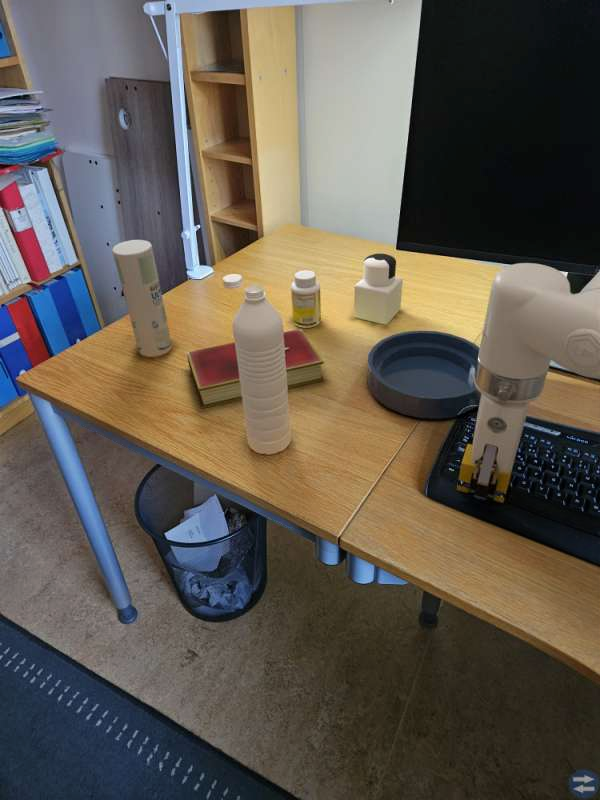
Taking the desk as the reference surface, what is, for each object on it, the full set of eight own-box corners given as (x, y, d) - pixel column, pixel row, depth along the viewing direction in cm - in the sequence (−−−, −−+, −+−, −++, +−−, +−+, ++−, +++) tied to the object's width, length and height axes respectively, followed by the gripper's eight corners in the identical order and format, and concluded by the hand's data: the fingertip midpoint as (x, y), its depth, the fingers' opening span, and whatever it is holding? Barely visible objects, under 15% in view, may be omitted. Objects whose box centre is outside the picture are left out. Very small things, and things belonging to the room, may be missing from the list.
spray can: (167, 357, 103) (145, 254, 91) (133, 357, 103) (106, 255, 91) (176, 339, 108) (156, 239, 96) (143, 339, 108) (119, 239, 96)
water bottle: (300, 440, 83) (291, 286, 68) (267, 462, 80) (250, 305, 64) (261, 414, 88) (245, 266, 73) (229, 434, 85) (205, 283, 70)
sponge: (507, 482, 75) (515, 455, 72) (503, 503, 72) (510, 475, 69) (462, 470, 77) (467, 443, 74) (456, 490, 74) (461, 463, 71)
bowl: (496, 364, 97) (500, 342, 94) (474, 434, 83) (479, 410, 80) (387, 343, 103) (388, 322, 101) (350, 404, 89) (350, 381, 87)
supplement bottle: (307, 312, 114) (305, 265, 108) (326, 321, 111) (326, 273, 105) (287, 322, 111) (284, 274, 105) (306, 332, 108) (304, 283, 102)
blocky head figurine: (368, 302, 116) (371, 247, 109) (400, 310, 113) (405, 253, 106) (353, 317, 112) (354, 261, 104) (386, 325, 109) (390, 268, 101)
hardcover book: (189, 369, 99) (186, 349, 97) (301, 345, 104) (300, 326, 101) (202, 408, 90) (198, 387, 88) (324, 380, 95) (323, 359, 92)
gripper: (536, 426, 56) (502, 542, 67) (551, 343, 68) (520, 453, 79) (461, 409, 59) (440, 523, 70) (488, 332, 70) (467, 440, 82)
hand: (483, 485), depth 74 cm, fingers closed on sponge, 4 cm apart
